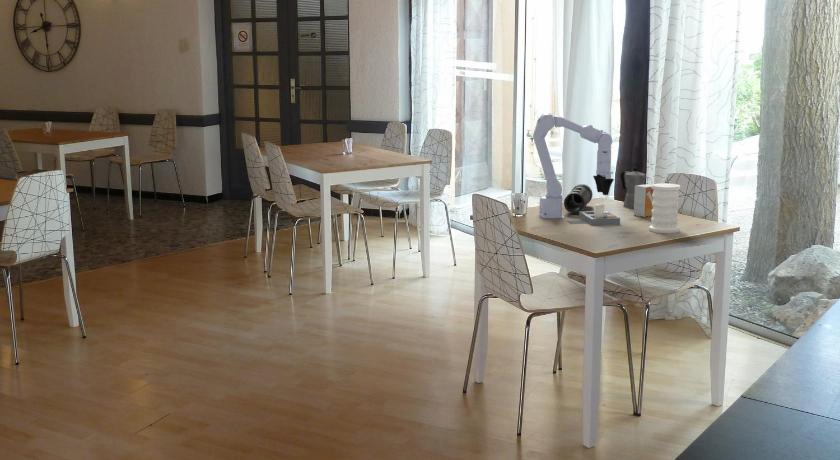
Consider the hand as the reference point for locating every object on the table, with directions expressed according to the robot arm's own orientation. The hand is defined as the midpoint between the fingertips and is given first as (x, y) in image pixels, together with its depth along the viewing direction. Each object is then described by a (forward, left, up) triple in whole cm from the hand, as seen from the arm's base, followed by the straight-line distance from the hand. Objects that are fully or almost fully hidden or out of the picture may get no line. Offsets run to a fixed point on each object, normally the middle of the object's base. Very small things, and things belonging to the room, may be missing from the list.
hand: (602, 193), depth 395 cm
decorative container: (+16, -30, -11) cm, 36 cm away
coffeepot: (+22, +26, -11) cm, 36 cm away
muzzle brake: (-5, +19, -11) cm, 22 cm away
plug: (-6, -14, -10) cm, 18 cm away
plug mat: (-14, -11, -10) cm, 21 cm away
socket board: (-4, -9, -10) cm, 14 cm away
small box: (+20, +3, -11) cm, 23 cm away
